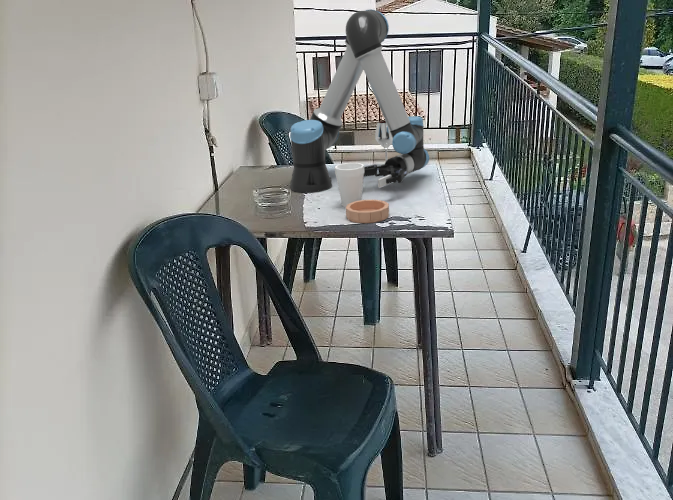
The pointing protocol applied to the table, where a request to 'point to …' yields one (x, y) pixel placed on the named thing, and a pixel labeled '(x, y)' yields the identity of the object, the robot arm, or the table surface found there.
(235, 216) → the table surface
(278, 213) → the table surface
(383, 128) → the wineglass
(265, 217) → the table surface
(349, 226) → the table surface
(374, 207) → the bowl
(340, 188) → the foam cup
